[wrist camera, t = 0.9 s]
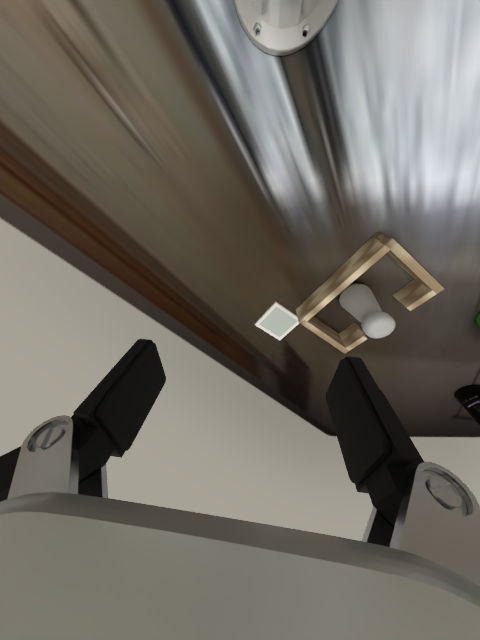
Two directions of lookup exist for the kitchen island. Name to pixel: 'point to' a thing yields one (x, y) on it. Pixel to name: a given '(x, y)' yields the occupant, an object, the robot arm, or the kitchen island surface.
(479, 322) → the cup
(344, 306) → the salt shaker
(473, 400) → the supplement bottle
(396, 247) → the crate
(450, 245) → the kitchen island surface
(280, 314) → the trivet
